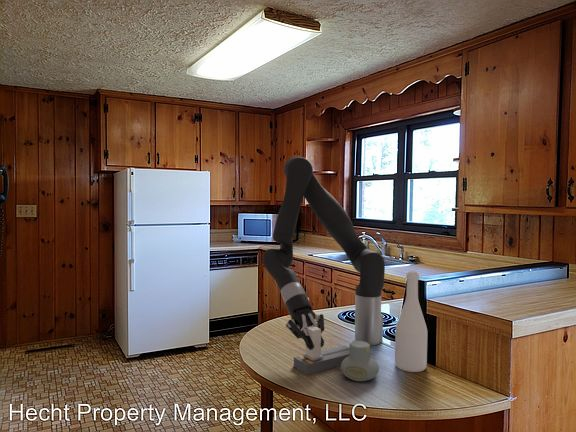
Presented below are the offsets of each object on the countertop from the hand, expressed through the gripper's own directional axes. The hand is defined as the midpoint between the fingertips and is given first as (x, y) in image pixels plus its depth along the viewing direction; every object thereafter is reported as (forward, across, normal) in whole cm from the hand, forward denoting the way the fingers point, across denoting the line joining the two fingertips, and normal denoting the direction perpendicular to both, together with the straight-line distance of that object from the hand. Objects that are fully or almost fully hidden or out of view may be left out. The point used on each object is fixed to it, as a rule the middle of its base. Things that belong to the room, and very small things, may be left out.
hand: (317, 347), depth 133 cm
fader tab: (+1, 0, +4) cm, 4 cm away
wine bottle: (+15, +26, -4) cm, 30 cm away
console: (+4, +5, +6) cm, 9 cm away
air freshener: (+13, +8, -3) cm, 15 cm away
